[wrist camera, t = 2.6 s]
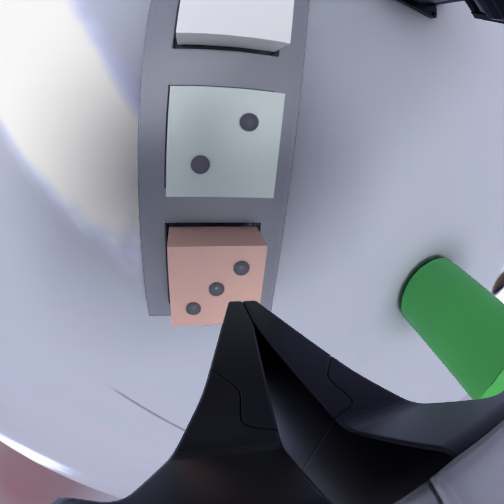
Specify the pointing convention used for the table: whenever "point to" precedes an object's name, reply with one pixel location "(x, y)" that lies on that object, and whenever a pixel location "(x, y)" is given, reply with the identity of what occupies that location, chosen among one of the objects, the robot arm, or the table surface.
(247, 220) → the board
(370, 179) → the table surface
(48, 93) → the table surface
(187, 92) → the tile
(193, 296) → the tile
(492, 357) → the bottle
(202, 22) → the tile
